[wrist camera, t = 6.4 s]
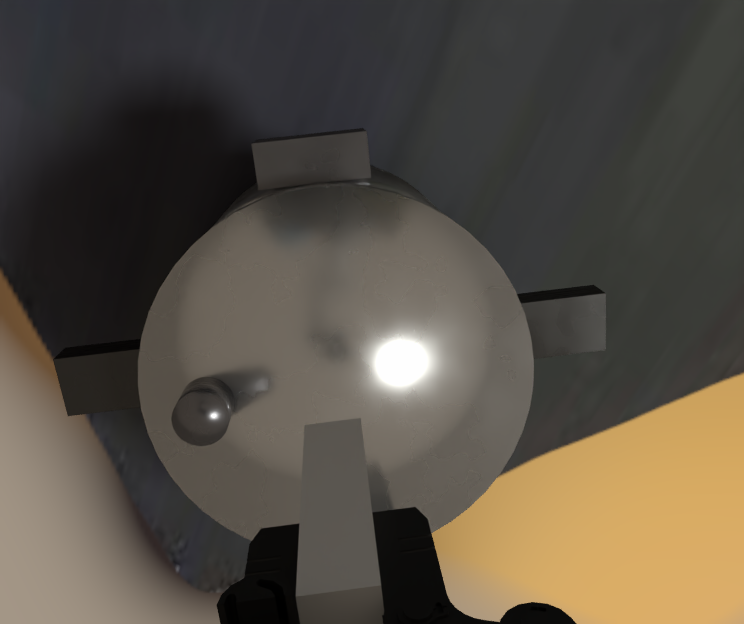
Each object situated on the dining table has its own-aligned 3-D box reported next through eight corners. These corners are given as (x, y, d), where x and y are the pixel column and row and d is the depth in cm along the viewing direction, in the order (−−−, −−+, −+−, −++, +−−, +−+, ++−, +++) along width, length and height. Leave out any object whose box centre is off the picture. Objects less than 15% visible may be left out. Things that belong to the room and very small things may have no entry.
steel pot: (84, 151, 40) (-9, 172, 29) (535, 102, 41) (616, 103, 30) (148, 439, 46) (92, 551, 35) (543, 390, 47) (614, 483, 36)
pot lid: (536, 576, 36) (556, 618, 33) (194, 622, 36) (182, 669, 32) (517, 161, 30) (539, 166, 27) (107, 207, 30) (82, 217, 27)
